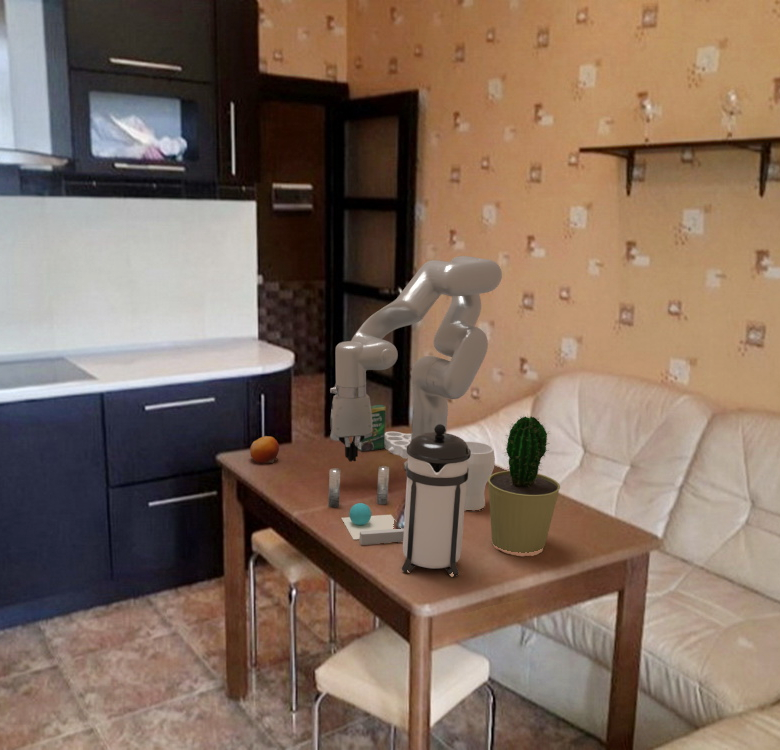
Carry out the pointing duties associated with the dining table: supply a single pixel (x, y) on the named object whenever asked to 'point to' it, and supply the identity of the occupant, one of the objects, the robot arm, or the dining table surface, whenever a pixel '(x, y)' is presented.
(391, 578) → the dining table surface
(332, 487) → the outer post
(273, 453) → the fruit
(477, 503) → the cup
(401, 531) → the rail
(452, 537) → the coffee press
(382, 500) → the inner post
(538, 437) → the potted cactus
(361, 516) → the ball
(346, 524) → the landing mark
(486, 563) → the dining table surface
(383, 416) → the coffee box
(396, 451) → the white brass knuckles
